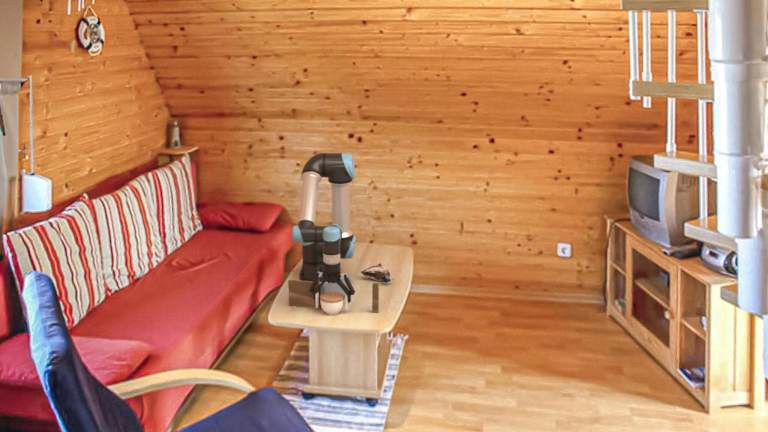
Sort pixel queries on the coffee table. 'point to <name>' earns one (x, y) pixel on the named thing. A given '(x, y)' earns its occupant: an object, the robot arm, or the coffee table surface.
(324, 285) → the door
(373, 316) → the coffee table surface
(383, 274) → the decorative duck model
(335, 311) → the lidded jar
